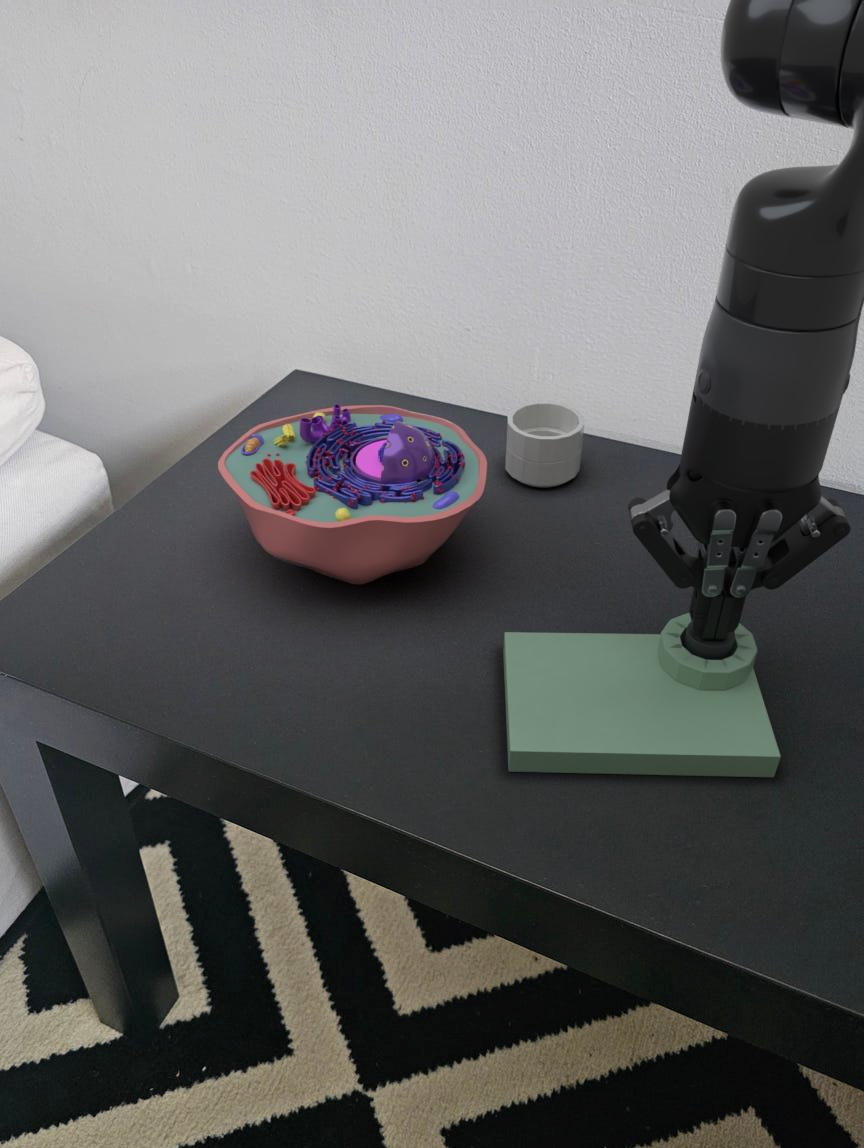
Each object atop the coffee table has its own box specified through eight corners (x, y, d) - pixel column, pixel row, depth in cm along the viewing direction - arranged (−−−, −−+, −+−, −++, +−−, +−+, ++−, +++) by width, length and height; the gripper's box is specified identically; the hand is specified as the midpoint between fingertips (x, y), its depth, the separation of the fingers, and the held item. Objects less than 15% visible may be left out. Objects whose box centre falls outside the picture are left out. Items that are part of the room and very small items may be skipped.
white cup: (575, 452, 92) (580, 401, 88) (581, 491, 87) (587, 439, 84) (503, 451, 92) (506, 401, 89) (505, 491, 87) (508, 438, 84)
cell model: (276, 479, 90) (262, 357, 82) (504, 510, 85) (511, 384, 78) (196, 598, 78) (171, 468, 70) (457, 642, 73) (461, 508, 66)
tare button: (725, 634, 69) (730, 616, 68) (734, 665, 66) (739, 647, 65) (679, 634, 69) (683, 616, 68) (687, 664, 67) (691, 646, 66)
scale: (736, 651, 72) (746, 612, 69) (774, 777, 63) (787, 737, 61) (502, 648, 72) (505, 609, 70) (508, 772, 64) (511, 732, 62)
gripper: (875, 352, 58) (801, 596, 69) (633, 352, 58) (599, 593, 70) (919, 420, 52) (831, 673, 63) (652, 419, 53) (612, 669, 64)
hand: (709, 631), depth 67 cm, fingers closed
